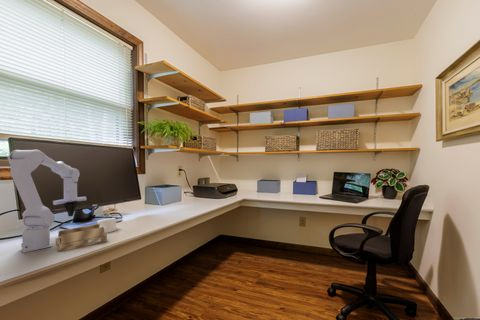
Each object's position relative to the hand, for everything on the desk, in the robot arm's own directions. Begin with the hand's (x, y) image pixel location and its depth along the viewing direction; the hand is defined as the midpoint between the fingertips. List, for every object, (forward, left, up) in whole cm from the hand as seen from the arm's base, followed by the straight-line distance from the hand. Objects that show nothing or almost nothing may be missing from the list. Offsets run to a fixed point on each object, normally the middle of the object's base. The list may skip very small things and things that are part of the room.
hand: (70, 216), depth 120 cm
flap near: (+2, -25, -6) cm, 26 cm away
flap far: (+2, -12, -6) cm, 14 cm away
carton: (+2, -19, -10) cm, 21 cm away
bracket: (+10, -7, -11) cm, 16 cm away
